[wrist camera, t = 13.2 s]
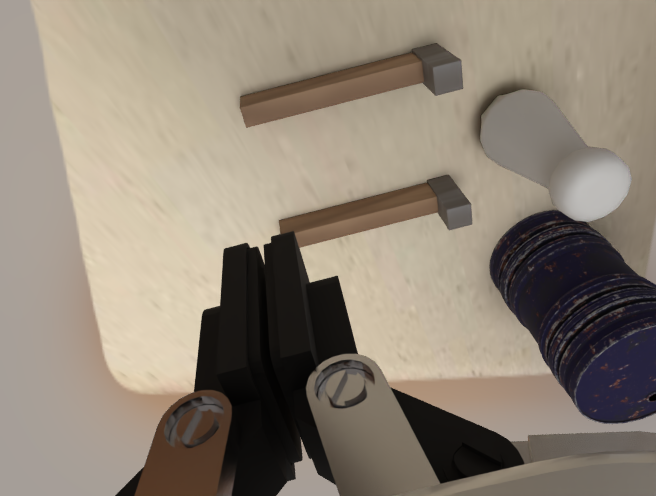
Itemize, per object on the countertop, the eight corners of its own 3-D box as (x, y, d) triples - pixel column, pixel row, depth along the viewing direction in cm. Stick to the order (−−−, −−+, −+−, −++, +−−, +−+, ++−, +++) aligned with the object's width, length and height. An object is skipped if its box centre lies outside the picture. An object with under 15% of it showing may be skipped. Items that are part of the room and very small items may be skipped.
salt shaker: (554, 86, 39) (671, 152, 29) (527, 157, 42) (624, 241, 32) (482, 76, 38) (577, 141, 27) (460, 150, 41) (537, 235, 30)
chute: (239, 93, 37) (238, 117, 32) (436, 43, 37) (461, 60, 32) (284, 236, 43) (288, 271, 39) (450, 194, 43) (472, 224, 39)
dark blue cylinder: (470, 251, 47) (551, 375, 34) (570, 187, 45) (696, 295, 32) (514, 315, 52) (600, 443, 39) (606, 260, 50) (727, 378, 37)
